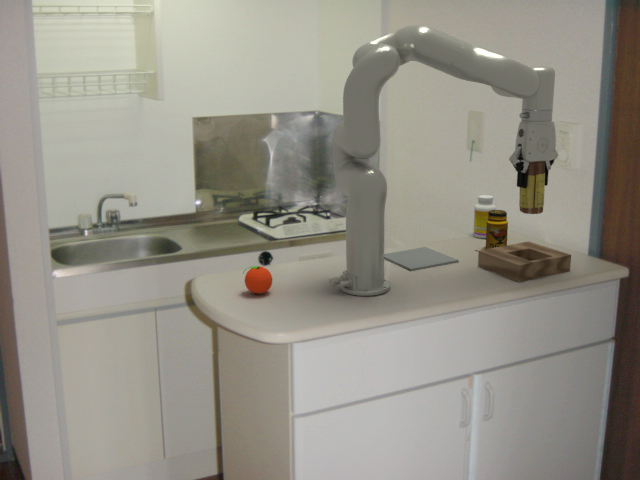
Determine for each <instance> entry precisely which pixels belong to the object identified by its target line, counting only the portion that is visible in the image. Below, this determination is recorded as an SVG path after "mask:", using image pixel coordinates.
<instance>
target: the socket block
mask: <svg viewBox="0 0 640 480" xmlns="http://www.w3.org/2000/svg"><path fill="white" fill-rule="evenodd" d="M477 257H478V259H477V266H478V267H479V268H481V269H484V270H487V271H489V272H492V273H495V274H496V275H499V276H502V277H504V278H506V279H507V278H508V279H509V280H512V281H514V282H517V283H521V282H525V281H530V280H535V279H538V278H543V277H544V278H545V277H549V276H553V275H557V274H562V273H567V272H568V273H569V272H571V267H572V266H571V264H572V263H571V262H572V254H571V253H566V252H564V251H560V250H558V249H554V248H551V247H548V246H545V245H541V244H539V243H535V242H532V241H529V240H528V241H524V242H519V243H513V244H507V245H506V246H501V247H496V248H490V249H485V250H479V251H478V256H477Z"/></svg>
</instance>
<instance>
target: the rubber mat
mask: <svg viewBox="0 0 640 480" xmlns="http://www.w3.org/2000/svg"><path fill="white" fill-rule="evenodd" d="M385 260H386V261H388V262H391V263H392V264H394V265H397V266H399V267H401V268H403V269H405V270H408V271H410V272H412V271H419V270H424V269H429V268H434V267H439V266H446V265H451V264H455V263H459V259H457V258H454V257H451V256H449V255H447V254H446V253H441V252H440V251H436V250H434V249H431V248H429V247H426V246H423V247H416V248H411V249H406V250H400V251H394V252H389V253H388V252H387V253H384V261H385Z"/></svg>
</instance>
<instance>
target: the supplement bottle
mask: <svg viewBox="0 0 640 480" xmlns="http://www.w3.org/2000/svg"><path fill="white" fill-rule="evenodd" d="M477 201H478V202H477V203H476V204H475V205H474V209H473V212H474V213H473V236H474V237H475V238H477V237H478V238H479V239H484V238H486V226H487V220H488V215H489V214H488V212H489V211H491V210H497V206H496V205H495V204H494V203H493V201H494V196H493V195H490V194H489V195H488V194H481V195H478V196H477Z"/></svg>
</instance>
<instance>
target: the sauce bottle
mask: <svg viewBox="0 0 640 480" xmlns="http://www.w3.org/2000/svg"><path fill="white" fill-rule="evenodd" d="M523 165H524V163H523V164H522V166H523ZM526 173H528V180H527V188H521V187H519V211H520V212H521V213H523V214H527V215H539V214H542V213H543V212H544V207H545V191H546V190H545V189H546V188H545V187H546V186H545V161H540V162H531V163H529V165H528V168H527V170H526Z"/></svg>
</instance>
